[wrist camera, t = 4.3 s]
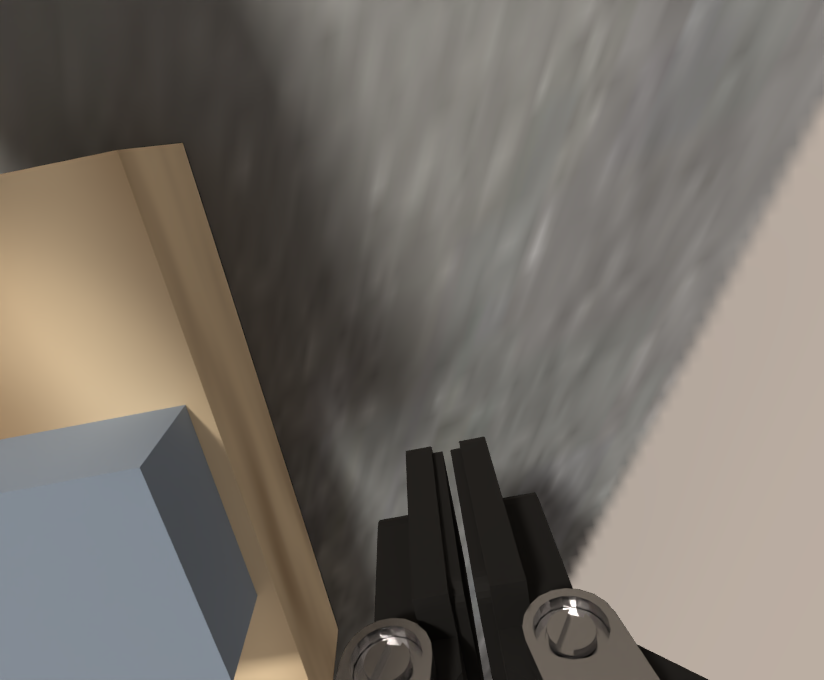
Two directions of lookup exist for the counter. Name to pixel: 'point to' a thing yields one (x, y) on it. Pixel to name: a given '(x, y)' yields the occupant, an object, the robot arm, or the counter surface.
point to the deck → (155, 362)
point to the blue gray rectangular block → (118, 555)
